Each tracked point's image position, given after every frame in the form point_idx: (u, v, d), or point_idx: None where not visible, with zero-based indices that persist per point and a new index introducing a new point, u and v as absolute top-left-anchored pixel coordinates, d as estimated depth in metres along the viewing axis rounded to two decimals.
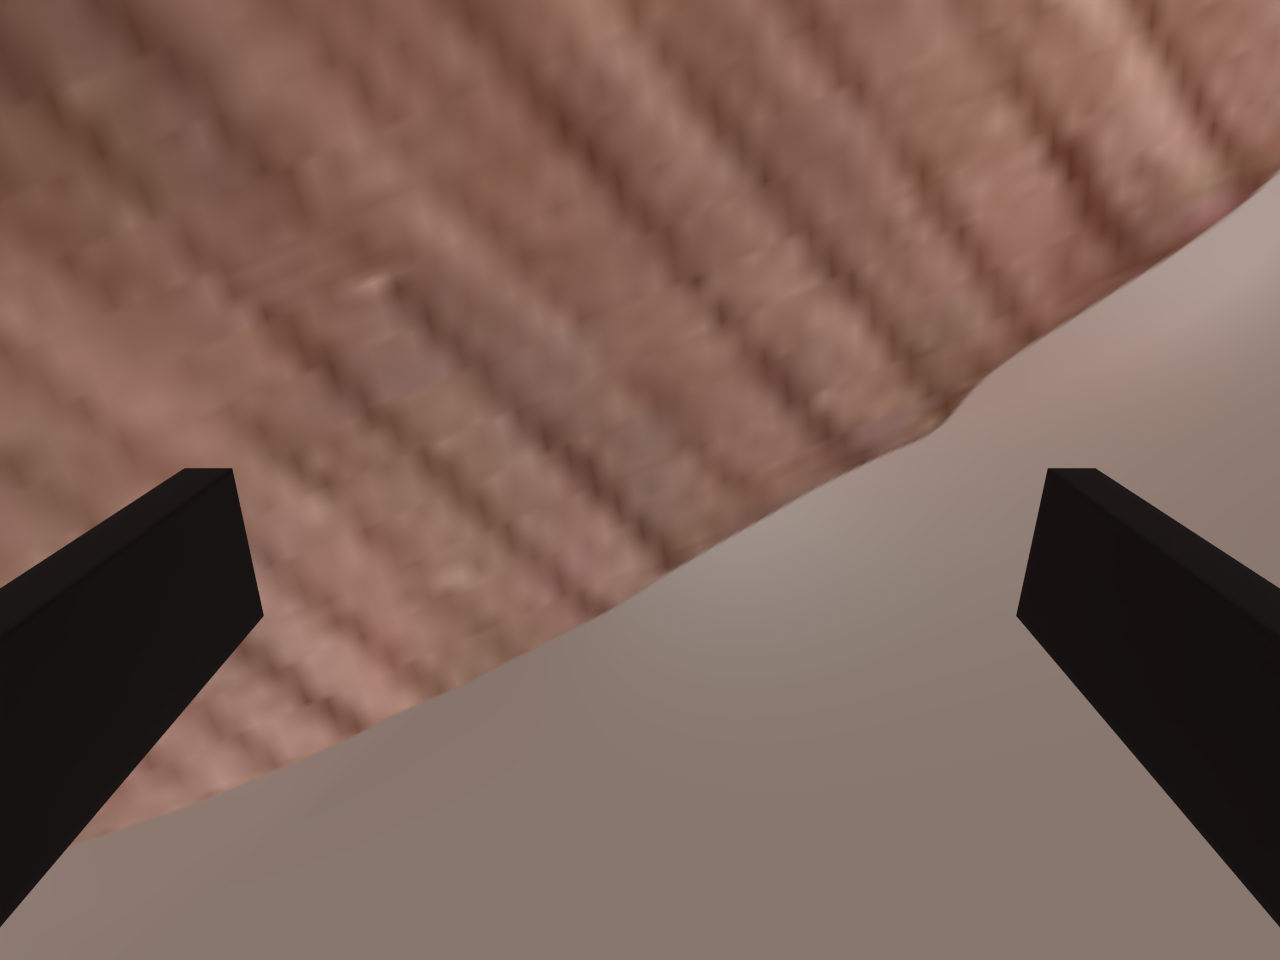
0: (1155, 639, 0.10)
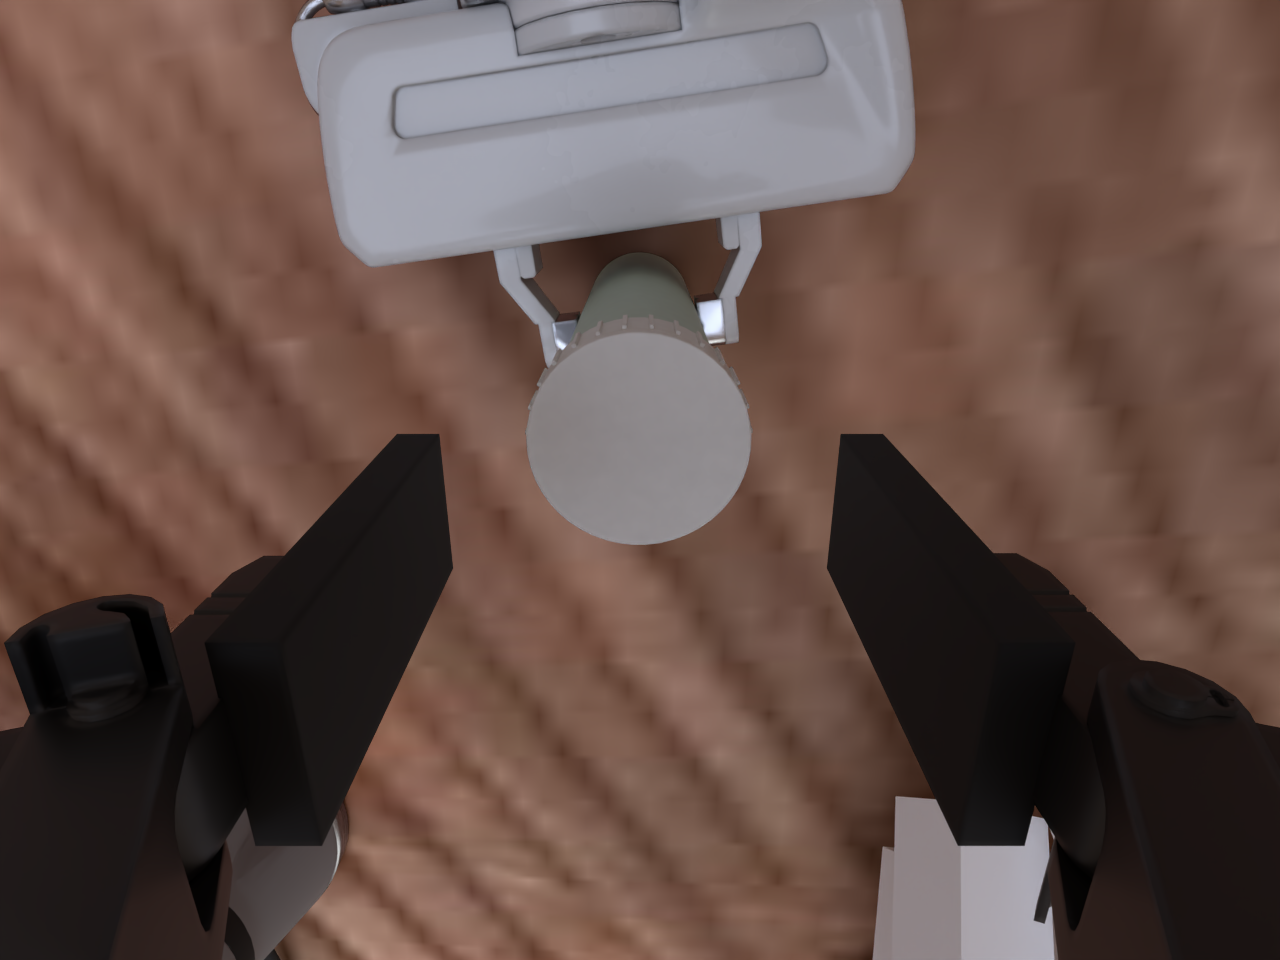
0: (885, 573, 0.11)
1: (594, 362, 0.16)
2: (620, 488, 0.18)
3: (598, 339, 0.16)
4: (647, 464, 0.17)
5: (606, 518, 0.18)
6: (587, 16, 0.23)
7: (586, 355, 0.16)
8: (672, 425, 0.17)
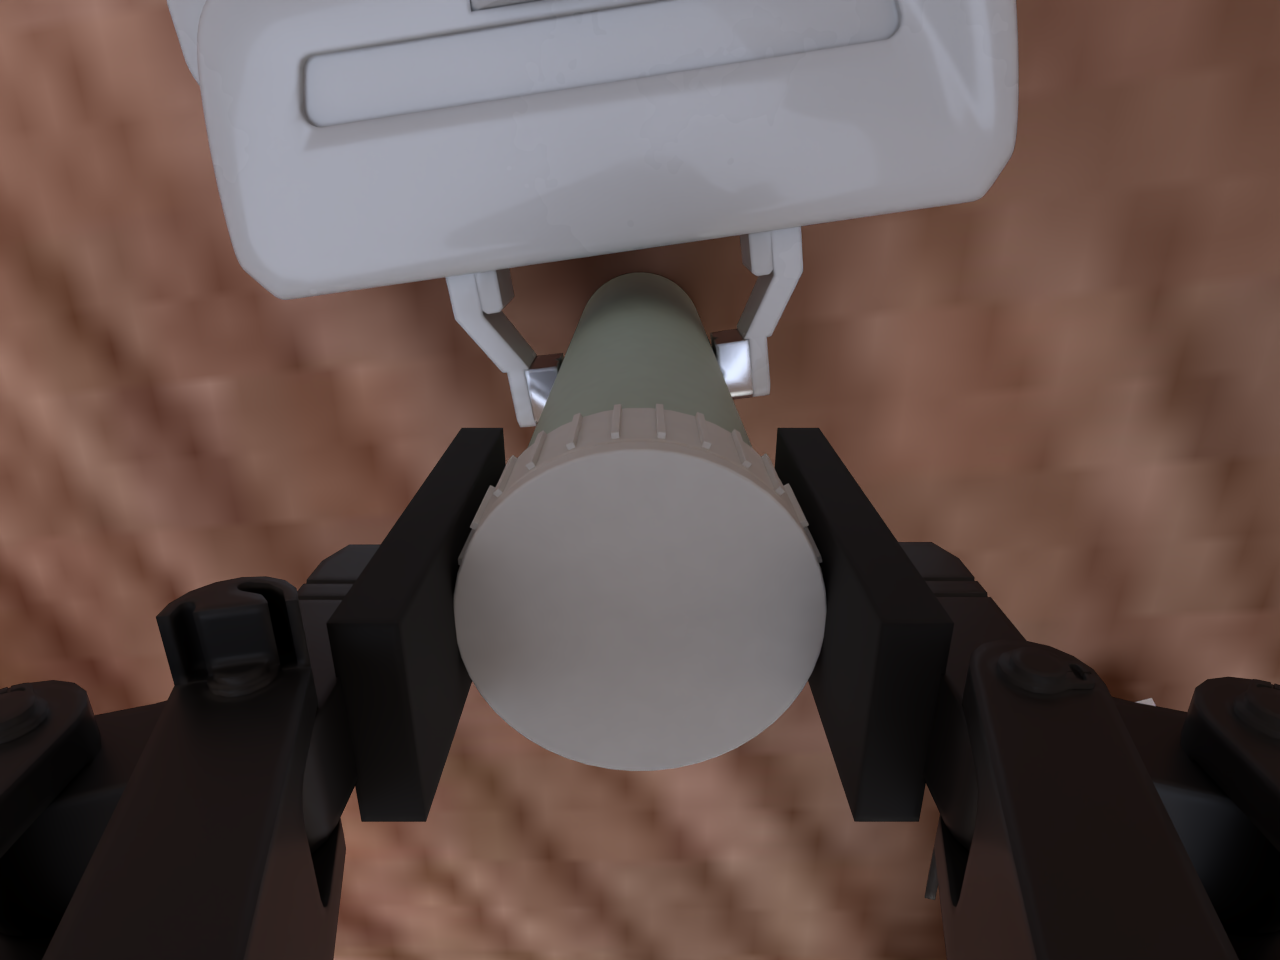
0: None
1: (564, 498, 0.10)
2: (609, 690, 0.11)
3: (570, 461, 0.09)
4: (653, 655, 0.11)
5: (587, 734, 0.11)
6: None
7: (550, 487, 0.10)
8: (695, 596, 0.10)
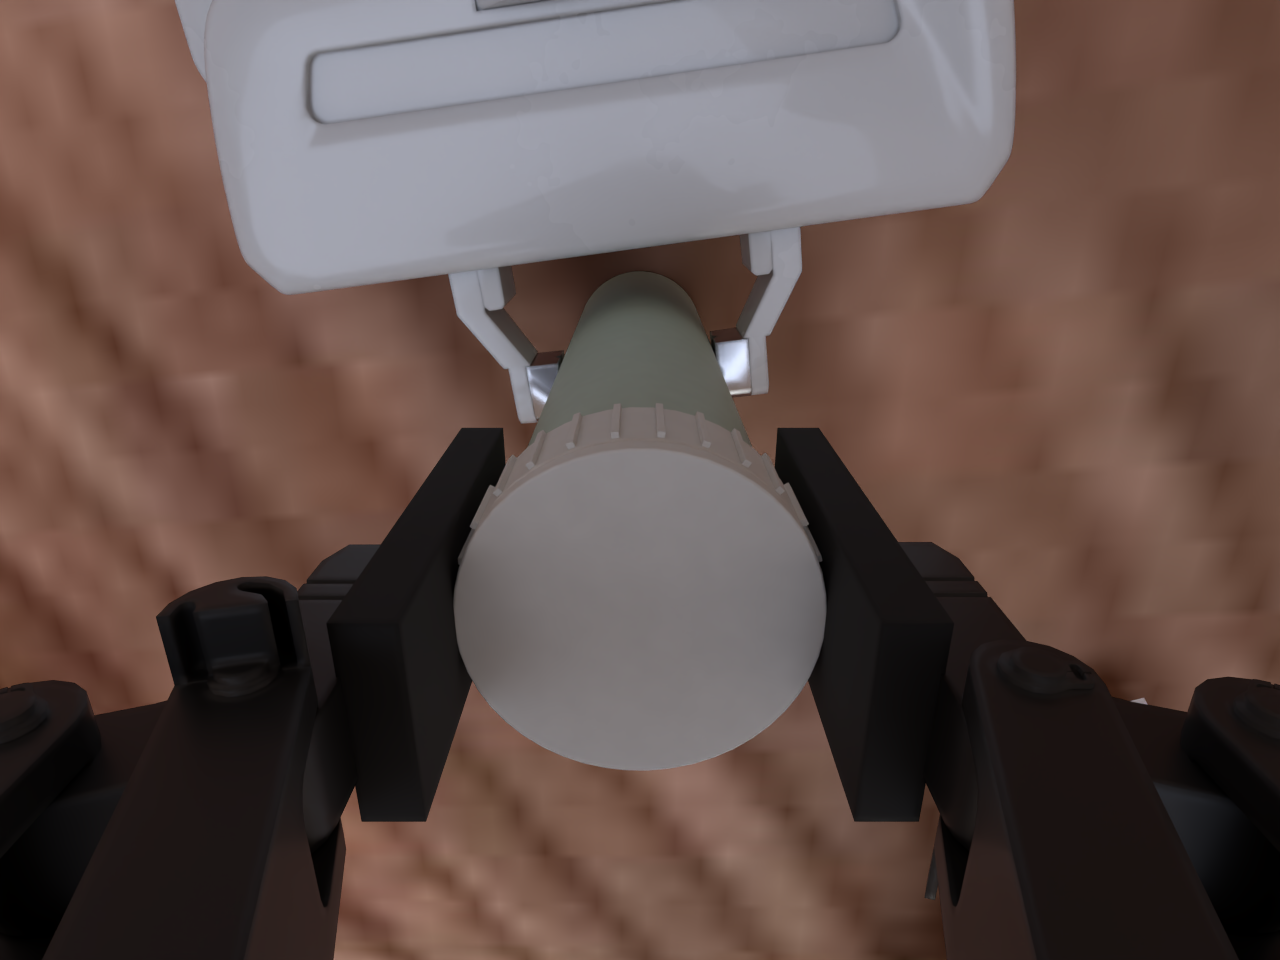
0: None
1: (591, 742, 0.11)
2: (720, 596, 0.10)
3: (562, 755, 0.11)
4: (655, 595, 0.10)
5: (779, 579, 0.10)
6: None
7: (592, 754, 0.11)
8: (577, 610, 0.10)
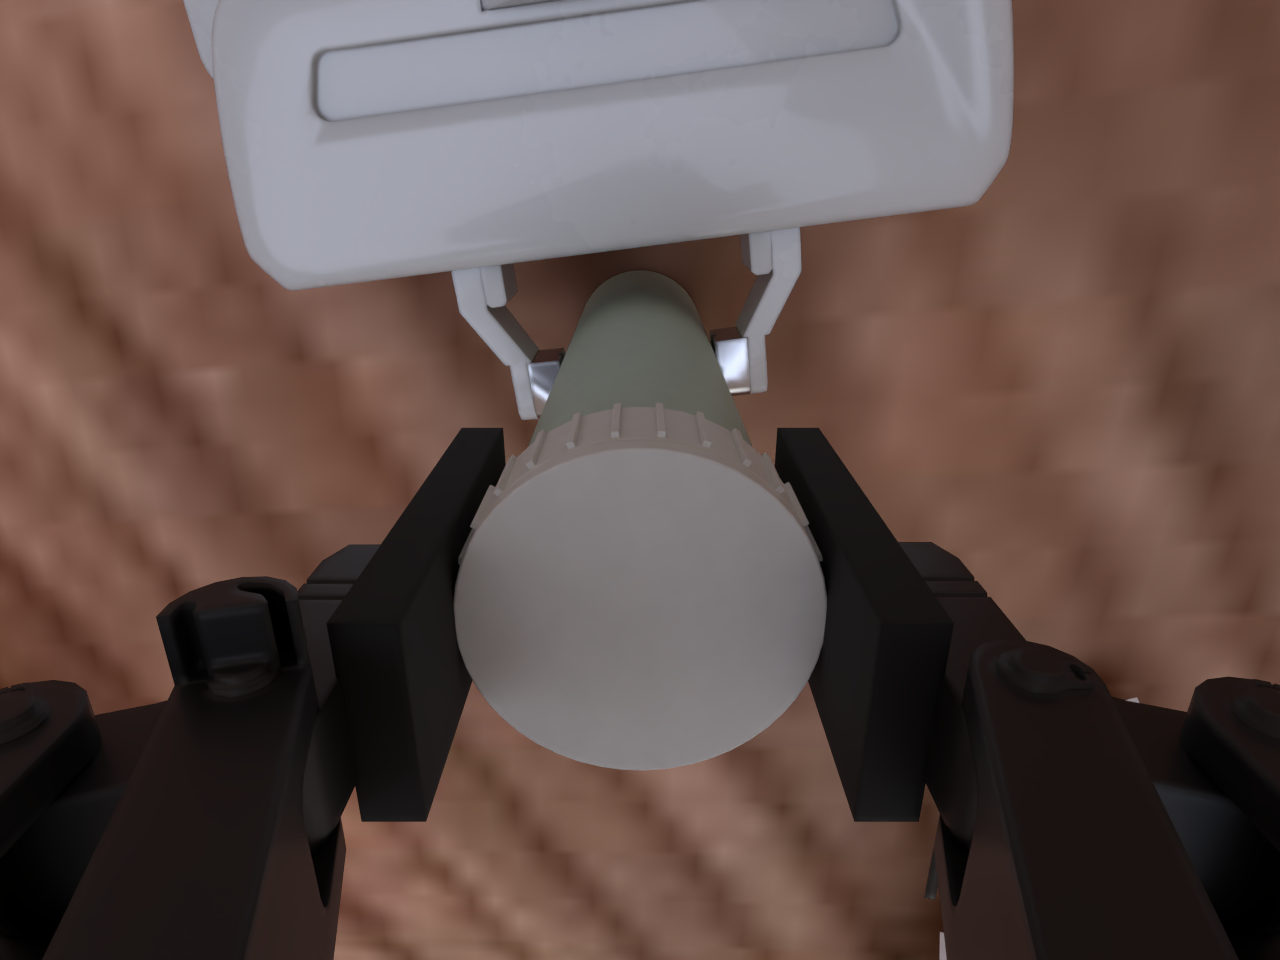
0: None
1: (787, 569, 0.10)
2: (561, 593, 0.10)
3: (823, 576, 0.10)
4: (604, 635, 0.10)
5: (504, 569, 0.10)
6: None
7: (800, 558, 0.10)
8: (670, 672, 0.11)
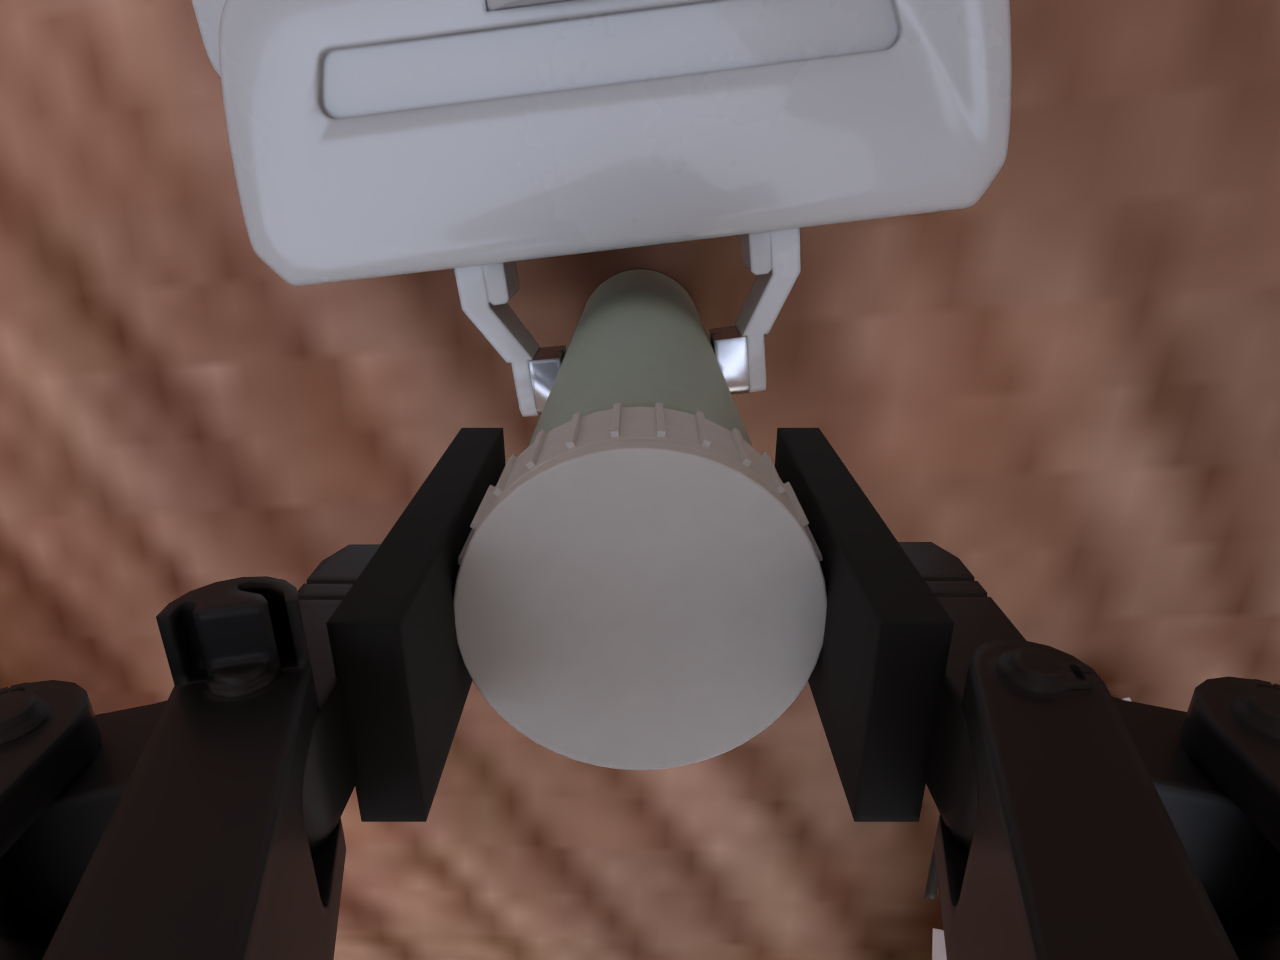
0: None
1: (492, 571, 0.10)
2: (666, 690, 0.11)
3: (471, 540, 0.10)
4: (673, 639, 0.10)
5: (681, 736, 0.11)
6: None
7: (475, 570, 0.10)
8: (662, 570, 0.10)
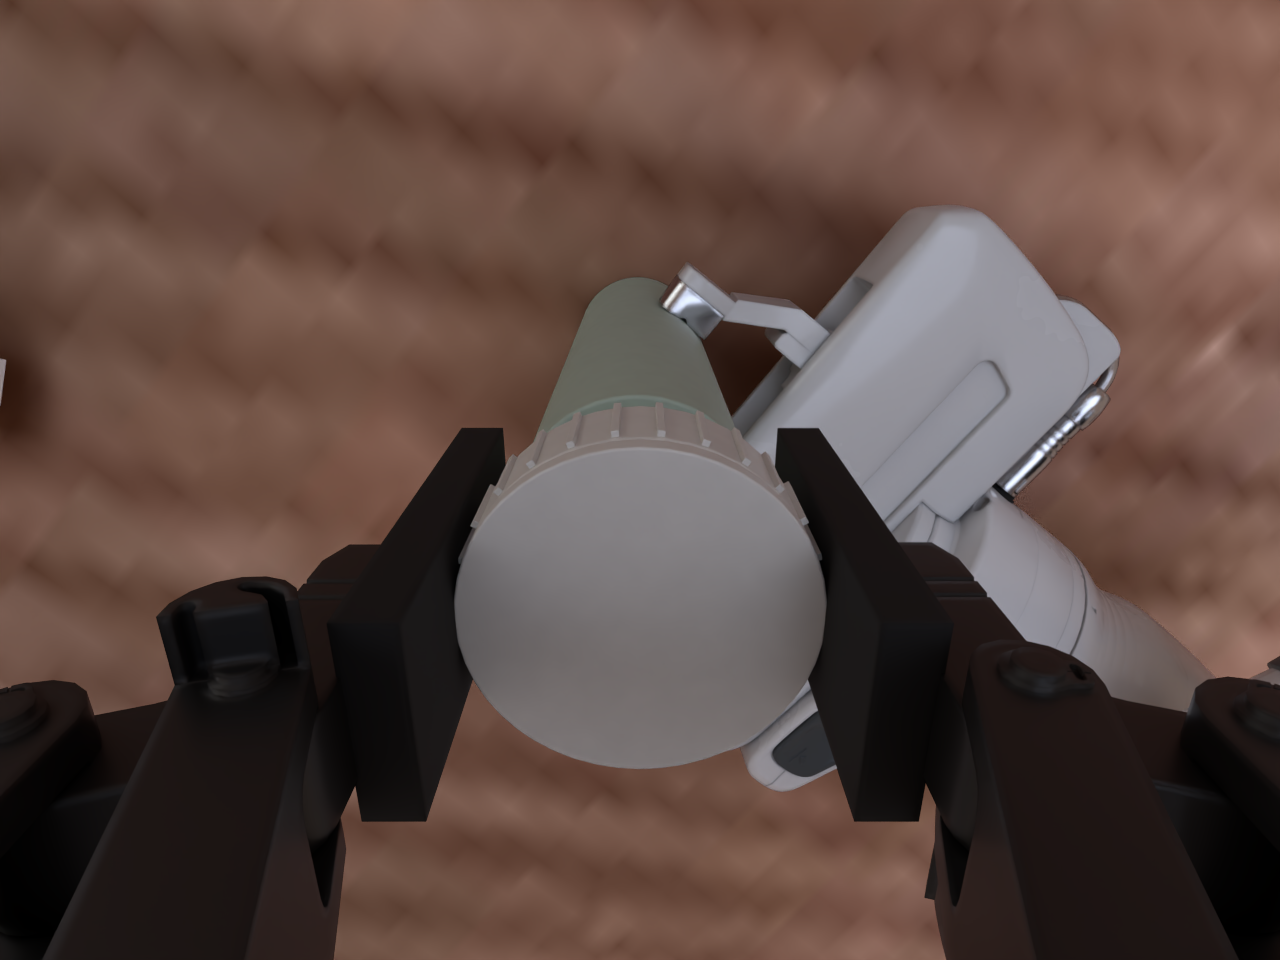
0: None
1: (492, 570, 0.10)
2: (666, 689, 0.11)
3: (471, 539, 0.10)
4: (673, 638, 0.10)
5: (681, 735, 0.11)
6: None
7: (475, 569, 0.10)
8: (661, 569, 0.10)
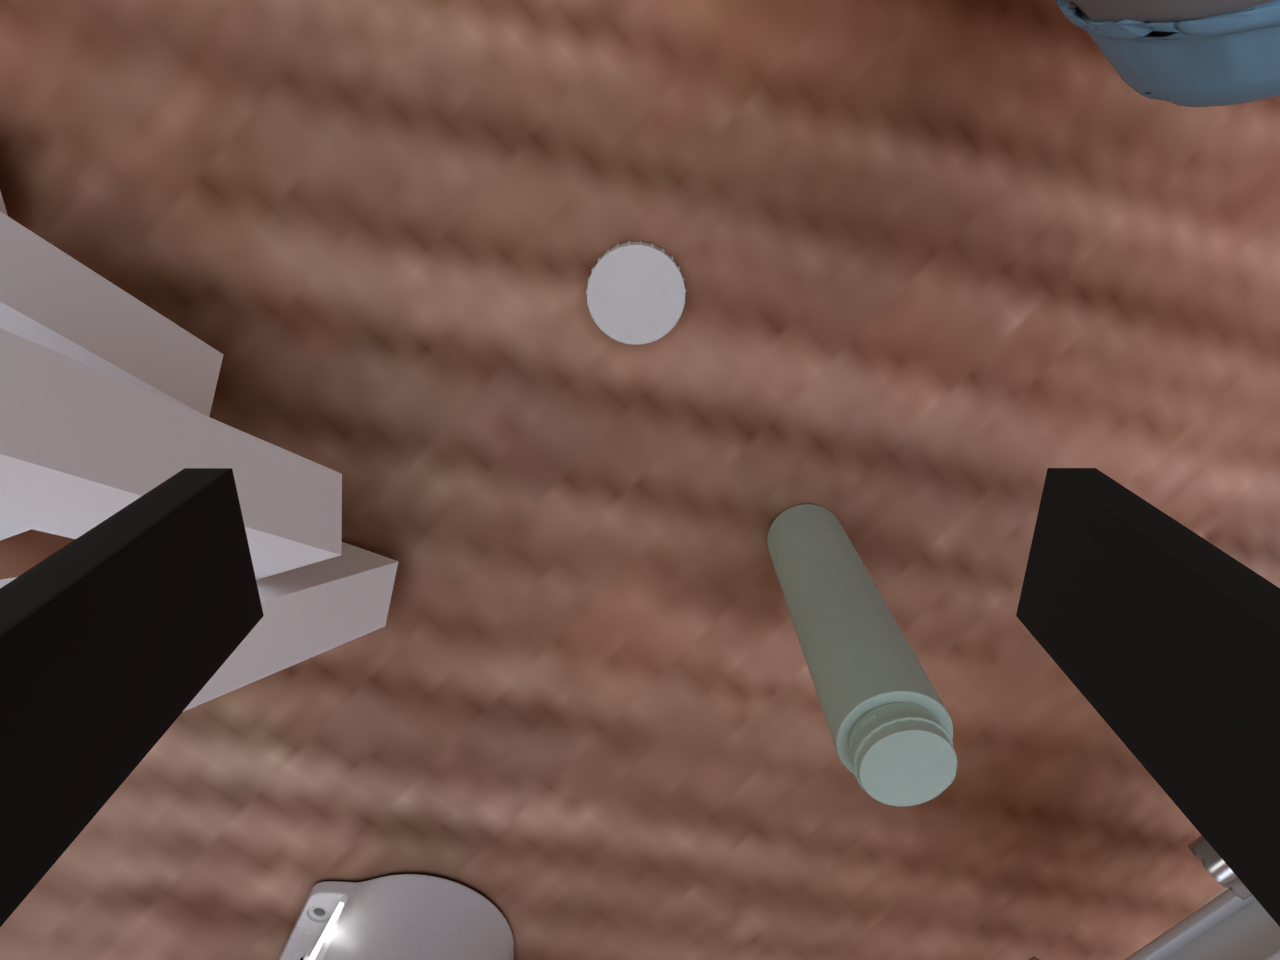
0: (1155, 639, 0.10)
1: (597, 279, 0.39)
2: (643, 317, 0.40)
3: (592, 270, 0.39)
4: (644, 300, 0.39)
5: (647, 332, 0.40)
6: None
7: (593, 279, 0.39)
8: (641, 279, 0.39)
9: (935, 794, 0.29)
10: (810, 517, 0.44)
